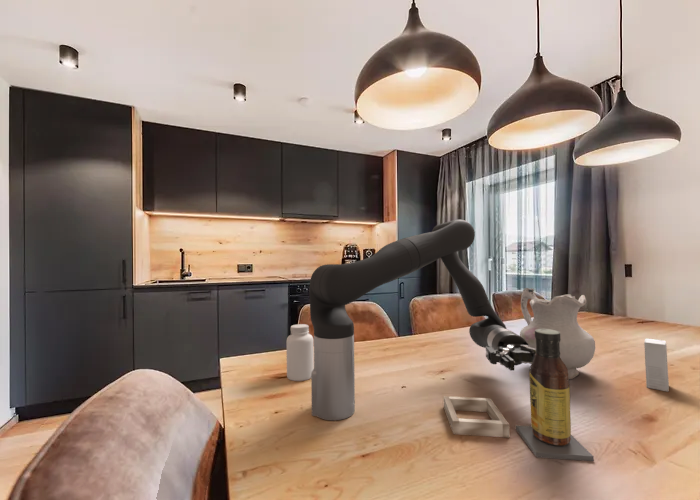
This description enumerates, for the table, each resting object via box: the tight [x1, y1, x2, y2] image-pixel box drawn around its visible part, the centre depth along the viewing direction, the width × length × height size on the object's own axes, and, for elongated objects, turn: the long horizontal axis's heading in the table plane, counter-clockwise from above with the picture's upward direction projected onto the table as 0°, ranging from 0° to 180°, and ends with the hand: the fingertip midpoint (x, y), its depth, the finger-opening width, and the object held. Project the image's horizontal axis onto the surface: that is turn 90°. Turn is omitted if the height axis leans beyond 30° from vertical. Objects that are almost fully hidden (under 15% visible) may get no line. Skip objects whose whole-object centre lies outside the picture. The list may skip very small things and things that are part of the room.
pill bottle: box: [286, 323, 314, 382], centre depth 93 cm, size 8×8×15 cm
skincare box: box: [643, 338, 670, 393], centre depth 83 cm, size 6×4×12 cm
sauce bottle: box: [528, 329, 572, 446], centre depth 58 cm, size 6×6×20 cm
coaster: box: [515, 424, 595, 462], centre depth 57 cm, size 9×9×1 cm
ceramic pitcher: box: [519, 287, 596, 380], centre depth 97 cm, size 22×20×25 cm
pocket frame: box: [442, 395, 510, 439], centre depth 66 cm, size 10×11×2 cm
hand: (534, 366), depth 64 cm, fingers open, 8 cm apart
